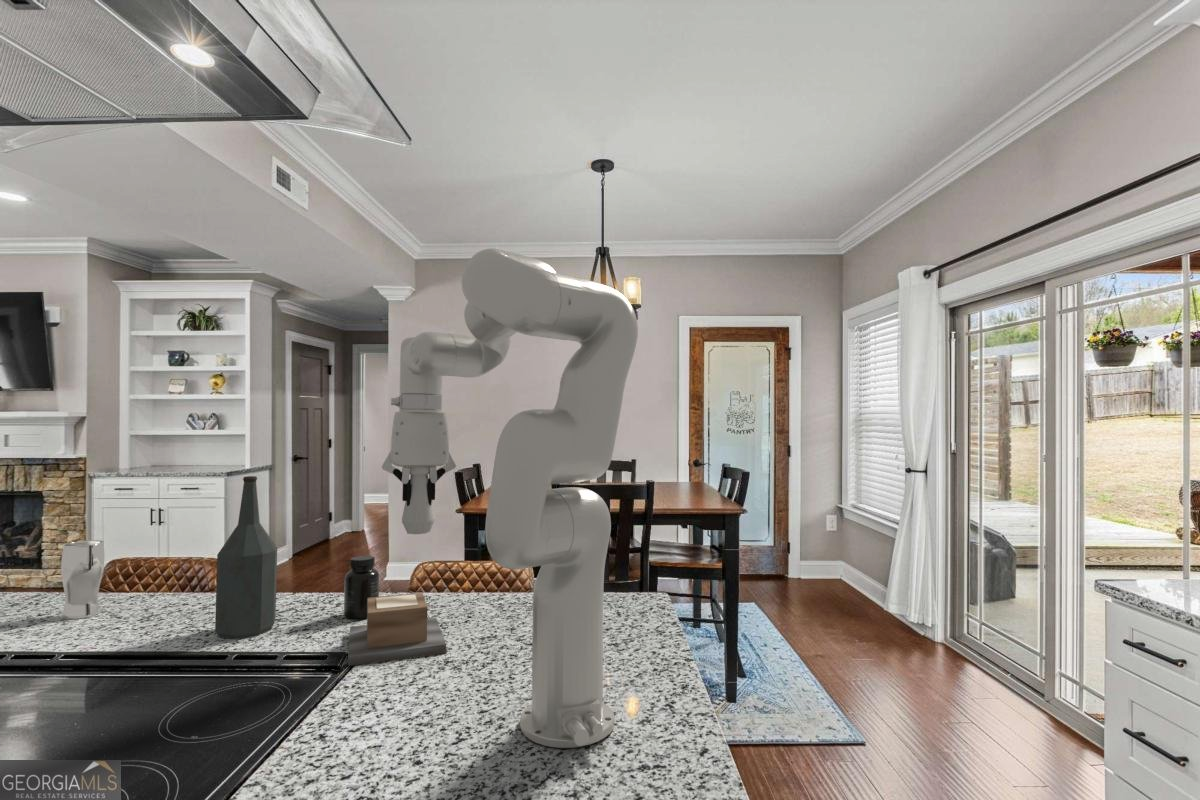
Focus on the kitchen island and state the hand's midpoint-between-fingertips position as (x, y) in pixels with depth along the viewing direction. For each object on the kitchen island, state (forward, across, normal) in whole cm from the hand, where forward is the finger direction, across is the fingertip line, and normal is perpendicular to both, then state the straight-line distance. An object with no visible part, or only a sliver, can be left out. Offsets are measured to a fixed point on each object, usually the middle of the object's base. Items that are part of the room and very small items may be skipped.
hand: (418, 503), depth 112 cm
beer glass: (+27, -65, +42) cm, 82 cm away
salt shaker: (+5, 0, 0) cm, 5 cm away
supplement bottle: (+26, -10, +22) cm, 35 cm away
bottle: (+26, -31, +20) cm, 45 cm away
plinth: (+26, -3, +2) cm, 26 cm away
